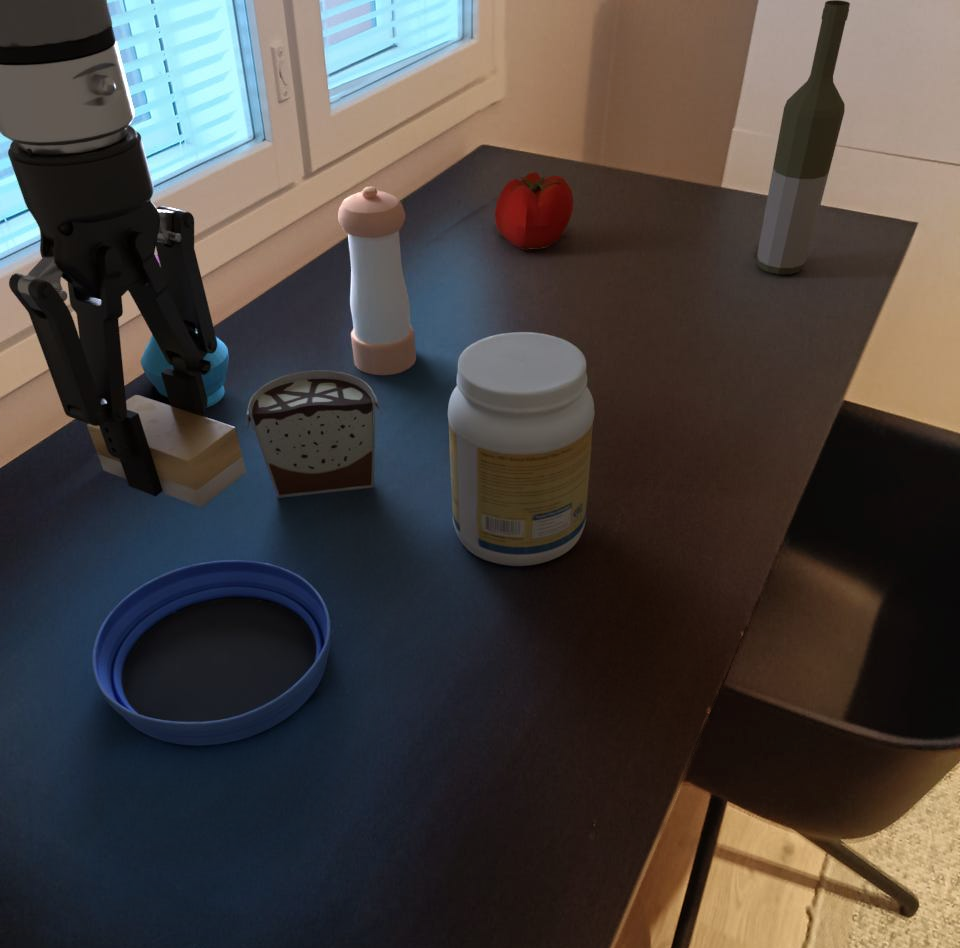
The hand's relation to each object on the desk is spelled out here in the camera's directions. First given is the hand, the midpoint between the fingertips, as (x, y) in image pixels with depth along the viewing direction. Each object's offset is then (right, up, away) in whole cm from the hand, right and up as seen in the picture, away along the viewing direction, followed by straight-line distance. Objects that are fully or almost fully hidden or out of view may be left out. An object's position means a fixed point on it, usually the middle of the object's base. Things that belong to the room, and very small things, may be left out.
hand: (172, 468), depth 70 cm
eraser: (0, 0, 0) cm, 0 cm away
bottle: (+64, +37, +55) cm, 92 cm away
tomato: (+31, +43, +62) cm, 81 cm away
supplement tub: (+27, -3, +16) cm, 31 cm away
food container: (+8, +3, +22) cm, 24 cm away
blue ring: (+3, -15, +4) cm, 16 cm away
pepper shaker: (+12, +20, +38) cm, 45 cm away
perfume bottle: (-8, +14, +33) cm, 37 cm away
